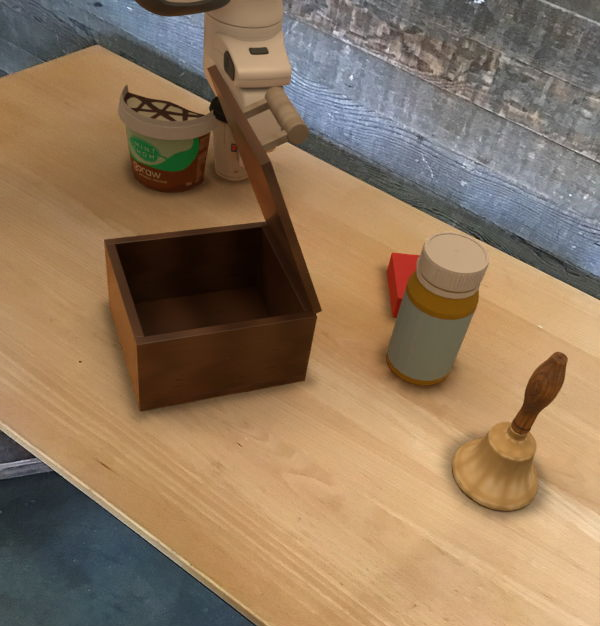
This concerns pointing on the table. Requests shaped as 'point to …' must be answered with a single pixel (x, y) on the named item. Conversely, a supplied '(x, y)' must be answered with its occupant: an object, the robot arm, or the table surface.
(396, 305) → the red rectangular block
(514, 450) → the hand bell
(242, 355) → the chest
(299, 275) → the lid
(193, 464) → the table surface
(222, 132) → the coffee cup
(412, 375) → the bottle
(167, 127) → the food container
